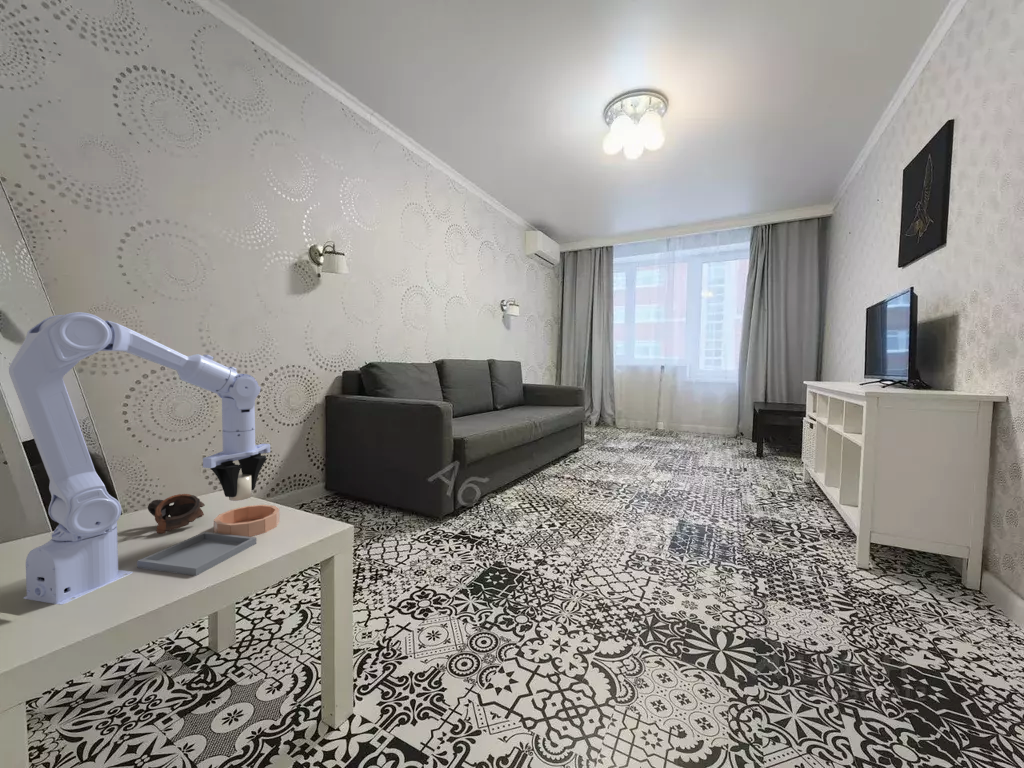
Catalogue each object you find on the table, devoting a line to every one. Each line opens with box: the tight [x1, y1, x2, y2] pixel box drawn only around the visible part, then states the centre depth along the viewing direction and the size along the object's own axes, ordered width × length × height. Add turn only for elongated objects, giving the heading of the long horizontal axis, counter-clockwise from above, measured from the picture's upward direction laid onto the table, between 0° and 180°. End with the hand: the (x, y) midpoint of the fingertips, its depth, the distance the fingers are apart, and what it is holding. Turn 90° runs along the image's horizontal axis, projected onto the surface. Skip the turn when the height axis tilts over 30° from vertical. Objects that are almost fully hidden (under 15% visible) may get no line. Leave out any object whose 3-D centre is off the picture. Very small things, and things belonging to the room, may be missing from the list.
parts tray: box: [136, 531, 257, 577], centre depth 74 cm, size 12×12×2 cm
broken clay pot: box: [147, 493, 206, 534], centre depth 87 cm, size 12×10×8 cm
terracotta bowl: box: [213, 504, 281, 537], centre depth 86 cm, size 12×12×4 cm
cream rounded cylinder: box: [228, 473, 253, 502], centre depth 83 cm, size 4×4×4 cm
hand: (240, 492), depth 84 cm, fingers closed on cream rounded cylinder, 4 cm apart
